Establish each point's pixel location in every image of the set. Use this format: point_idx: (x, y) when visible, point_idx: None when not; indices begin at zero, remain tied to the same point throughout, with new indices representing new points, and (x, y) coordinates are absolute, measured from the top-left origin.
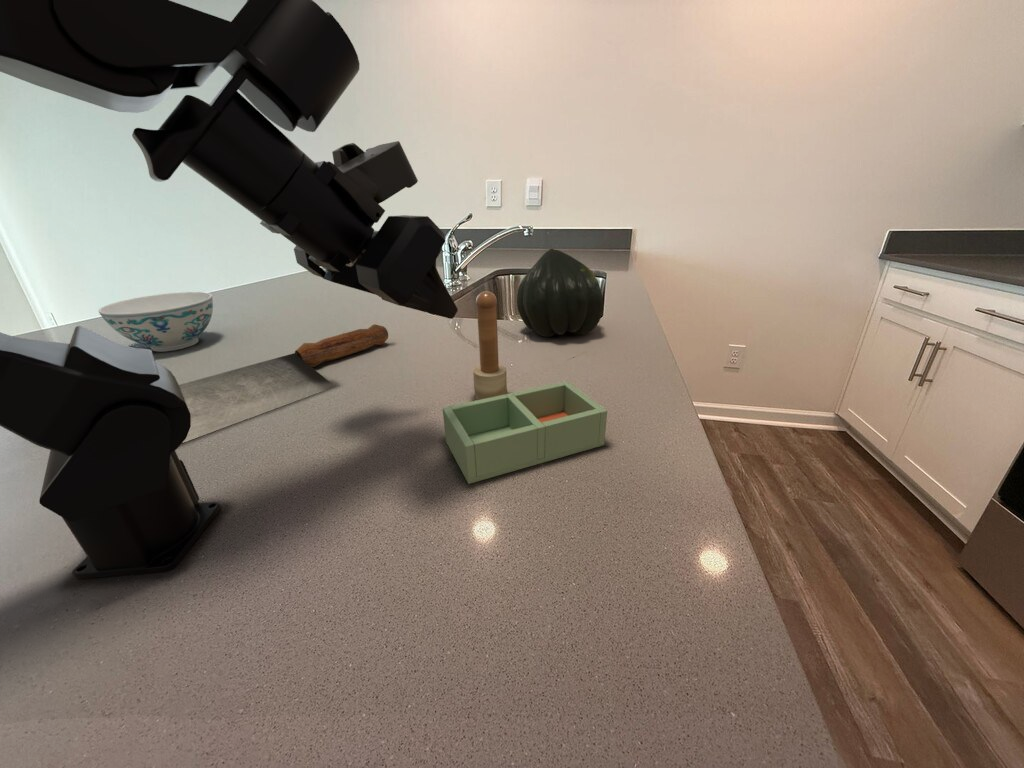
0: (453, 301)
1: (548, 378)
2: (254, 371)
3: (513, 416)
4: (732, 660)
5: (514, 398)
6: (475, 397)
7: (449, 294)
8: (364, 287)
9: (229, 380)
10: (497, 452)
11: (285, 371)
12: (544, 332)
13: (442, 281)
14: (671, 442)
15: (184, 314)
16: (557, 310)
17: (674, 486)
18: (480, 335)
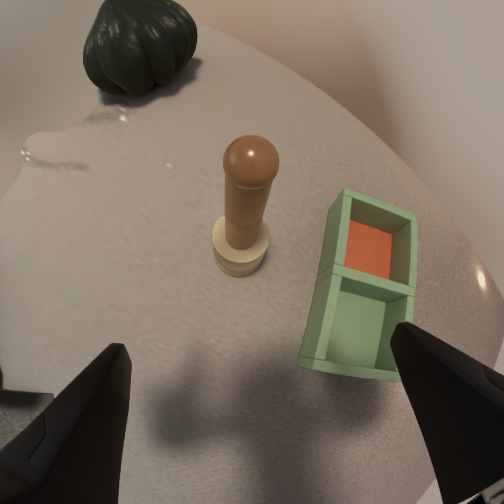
0: (431, 335)
1: None
2: (2, 445)
3: (349, 285)
4: (500, 319)
5: (350, 272)
6: (231, 273)
7: (452, 347)
8: (114, 487)
9: None
10: None
11: (8, 420)
12: (146, 90)
13: (491, 369)
14: (412, 190)
15: None
16: (166, 59)
17: (446, 239)
18: (246, 221)
